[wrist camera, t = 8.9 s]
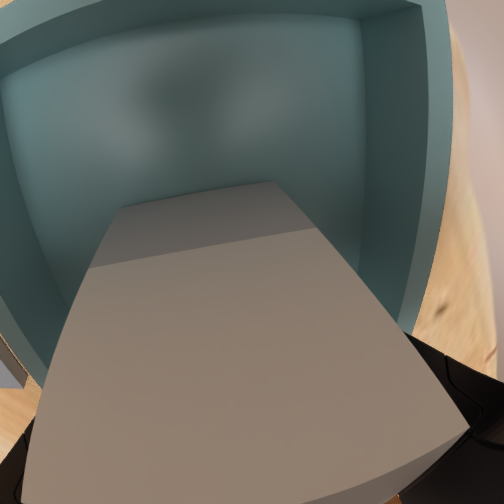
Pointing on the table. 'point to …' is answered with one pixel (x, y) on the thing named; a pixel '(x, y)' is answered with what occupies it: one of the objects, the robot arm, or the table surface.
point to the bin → (218, 133)
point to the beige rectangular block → (231, 368)
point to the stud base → (10, 370)
